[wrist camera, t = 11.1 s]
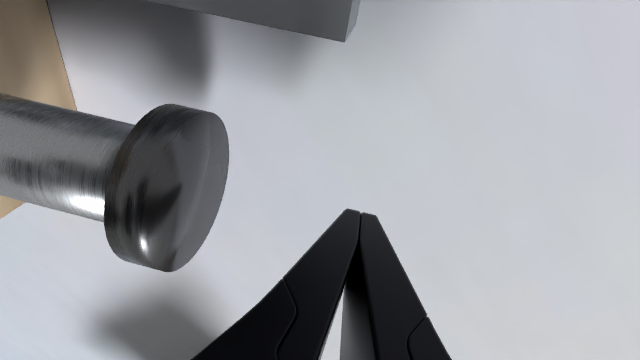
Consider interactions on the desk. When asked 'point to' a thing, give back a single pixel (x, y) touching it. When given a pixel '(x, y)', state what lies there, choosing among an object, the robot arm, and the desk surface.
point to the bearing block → (30, 62)
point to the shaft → (120, 173)
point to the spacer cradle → (284, 14)
